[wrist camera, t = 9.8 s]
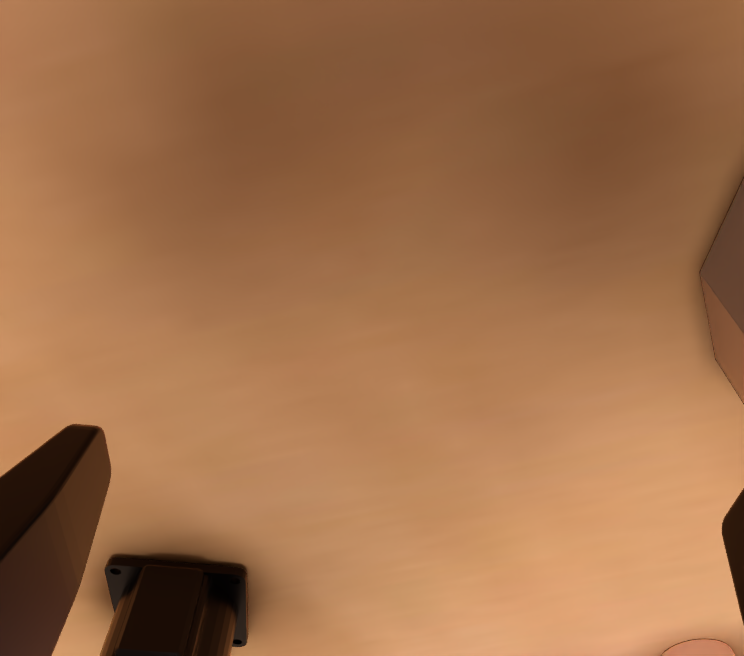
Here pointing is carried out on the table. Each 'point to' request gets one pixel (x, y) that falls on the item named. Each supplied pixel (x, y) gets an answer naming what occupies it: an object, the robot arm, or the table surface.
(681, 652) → the smoothie
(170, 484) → the table surface
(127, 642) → the robot arm
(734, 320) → the dish
